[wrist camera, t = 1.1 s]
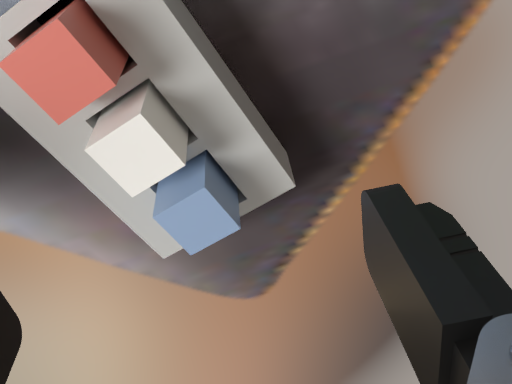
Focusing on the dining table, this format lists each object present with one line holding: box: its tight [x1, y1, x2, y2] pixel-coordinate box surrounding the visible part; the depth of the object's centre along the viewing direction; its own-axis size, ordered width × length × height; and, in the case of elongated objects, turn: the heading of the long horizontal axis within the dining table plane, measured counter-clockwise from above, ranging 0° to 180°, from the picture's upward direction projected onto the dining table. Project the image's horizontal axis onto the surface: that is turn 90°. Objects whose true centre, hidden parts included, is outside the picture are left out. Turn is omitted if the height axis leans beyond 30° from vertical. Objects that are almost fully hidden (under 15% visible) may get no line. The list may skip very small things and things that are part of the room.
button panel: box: [0, 0, 296, 259], centre depth 26 cm, size 10×16×4 cm, turn 32°
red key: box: [0, 0, 129, 125], centre depth 21 cm, size 3×3×4 cm
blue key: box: [152, 150, 241, 255], centre depth 27 cm, size 3×3×4 cm
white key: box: [84, 79, 189, 197], centre depth 24 cm, size 3×3×4 cm
